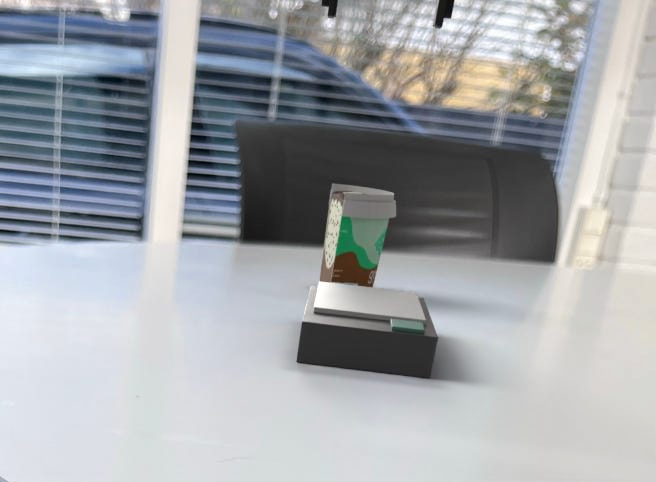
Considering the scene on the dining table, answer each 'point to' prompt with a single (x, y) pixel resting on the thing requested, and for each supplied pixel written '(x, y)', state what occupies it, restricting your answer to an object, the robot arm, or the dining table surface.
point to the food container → (355, 234)
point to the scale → (367, 330)
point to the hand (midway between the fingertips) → (384, 22)
